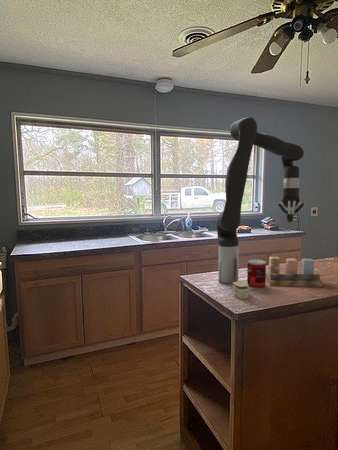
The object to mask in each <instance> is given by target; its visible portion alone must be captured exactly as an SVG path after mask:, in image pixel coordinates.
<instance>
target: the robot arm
mask: <svg viewBox="0 0 338 450" xmlns="http://www.w3.org/2000/svg"><path fill="white" fill-rule="evenodd" d="M229 133H230V136H231V137H232V138H233V139H234V140H235V141H238V144H237V148H236V151H235V153H234V155H233V157H232V158H231V160H230V162H229V164H228V166H227V169H226V176H225V184H224V185H225V187H224V188H225V202H224V203H225V204H224V207H223V212H220V214H219V215H218V217H217V221H216V225H217V226H216V229H217V231H216V232H217V240H218V242H217V243H218V260H217V261H218V265H217V267H218V283H224V284H233V282H237V281H239V238H238V233H237V232H238V230H237V229H238V228H239V227H240V224H241V212H242V203H243V198H244V194H245V189H246V184H247V180H248V172H249V166H250V160H251V157H252V156H251V155H252V152H253V147H254V146H255V147H258V148H261V149H263V150H266V151H267V152H269V153H271V154H273V155H276V156H280V160H281V165H282V168H283V182H282V183H283V184H282V199H281V201H280V202H279V203H277V204H276V205H277V207H278V208H279V209H280V210H281V211H282V213H284V214H286V221H287V222H289V223H291V222H293V221H294V215H295V214H298V213H299V211H300V210H301V209H302V208H303V207H304V206H305V203H304V202H302V201H301V199H300V167H299V166H296V165H294V162H296V161H297V162H298V161H300V160H301V159H302V158H304V155H305V152H304V149H303V148H302V146H300V145H298V144H295V143H292V142H286V141H284V140H282V139H281V138H279V137H276V136H274V135H270V134H265V133H261V132H258V123H257V121H256V119H255V118H253V117H251V116H246V117H244V118H241V119H238V120H235V121H234V122H232V123H231V125H230V128H229ZM284 206H285V207H284Z"/></svg>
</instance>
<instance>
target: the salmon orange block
mask: <svg viewBox="0 0 338 450" xmlns="http://www.w3.org/2000/svg"><path fill="white" fill-rule="evenodd" d="M298 264H299V263H298V260H297V258H286V259H285V272H286V274H297V272H298Z"/></svg>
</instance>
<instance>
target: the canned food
mask: <svg viewBox="0 0 338 450" xmlns="http://www.w3.org/2000/svg"><path fill="white" fill-rule="evenodd" d="M246 263H247V270H246V273H247V279H246V280H247V281H246V282H247V284H248V285H249V286H248V287H250V288H255V289H262V288H265V287H266V281H267V280H266V272H267V262H266V260H265V261H264V260H262V259H249V260H247V261H246Z"/></svg>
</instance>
